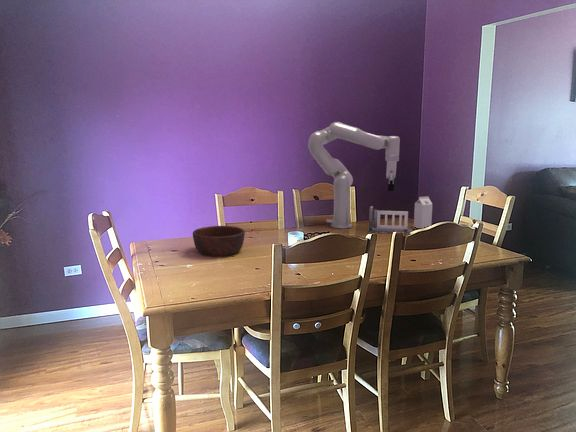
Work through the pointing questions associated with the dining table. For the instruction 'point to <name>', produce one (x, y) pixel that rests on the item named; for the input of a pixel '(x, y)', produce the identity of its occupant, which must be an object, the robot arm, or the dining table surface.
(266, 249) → the dining table surface
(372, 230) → the gate base
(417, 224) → the milk carton
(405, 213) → the gate
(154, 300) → the dining table surface
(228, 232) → the wooden bowl
